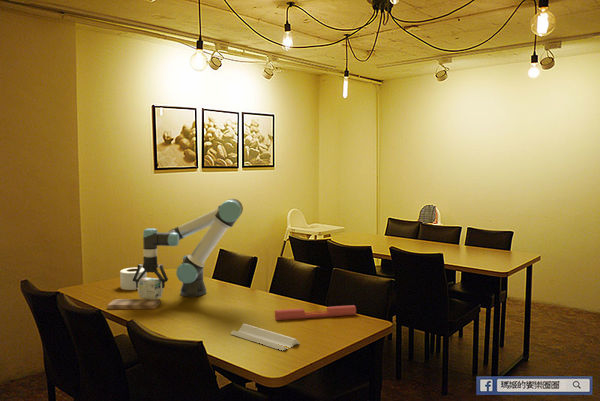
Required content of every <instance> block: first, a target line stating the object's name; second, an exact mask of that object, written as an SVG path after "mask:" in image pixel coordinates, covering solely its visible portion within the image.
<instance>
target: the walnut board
mask: <svg viewBox="0 0 600 401" xmlns="http://www.w3.org/2000/svg"><path fill="white" fill-rule="evenodd" d="M160 304H161V299H160V298H158V299H144V298H122V299H121V298H117V299H116V298H115V299H113V300H112V301H111V302H109V303H108V304H107V310H124V309H125V310H151V309H152V310H156V309H157V307H158V306H159V305H160Z"/></svg>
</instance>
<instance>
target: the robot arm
mask: <svg viewBox="0 0 600 401" xmlns="http://www.w3.org/2000/svg"><path fill="white" fill-rule="evenodd" d="M243 210H244V207H243V204H242V202H241V201H240V200H239V199H236V198H230V199H227V200H225V201H224V202H222V203H221V204H220V205H218V206H217V208H215V209H213V210H211V211H209V212H207V213H204V214H203V215H200V216H198V217H196V218H194V219H192V220H190V221H188V222H185V223H183V224H181V225H179V226H176V227H174V228H172V229H170V230H168V231H166V232H158V229H157V228H153V227H152V228H151V227H149V228H145V229H144V230H143V234H142V235H143V237H142V240H143V241H142V242H143V244H142V246H143V252H142V254H143V255H142V256H143V264H140V263H139V264H138V265H137V271H136V273H135V276H134V278H133V281H135V282H136V288H138V289H137V294H138V295H140V291H139V280H140V279H141V278H142V277H143V275H144V274H145V273H146V274H147V273H154V274H155V275H156V277H157V279H160V280H161V283H160V287H161V294H162V295H163V294H164V289H165V284H166V282H169V278H168V276H167V274H166V271H165V269H164V264H158V246H159V247H177V246H179V243H180V240H183V239H184V238H186V237H189V236H191V235H193V234H196V233H198V232H201V231H202V230H204V229H206V228H208V229H207V231H206V232H205V234H204V235H203V237H202V238H201V239H200V241H199V242H198V243H197V245H196V246H195V248H194V249H193V251H192V252H191V253H189V254H187V255H184V256H182V262H181V263H180V264H179V265H178V266H177V269H176V272H175V273H176V277H177V279H178V280H179V281H180V282H181V283H182V284H181V288H180V291H179V292H180V295H181V296H183V297H191V298H192V297H193V298H194V297H200V296H203V295H206V294H207V287H206V284H205V280H204V268H205V267H206V266H205V262H206V260H207V259H208V257H209V256H210V255H211V253H212V252H213V251H214V249H215V247H216V246H217V244H218V243H219V242H220V240H221V239H222V237H224V235H225V234H226V232H227V230H228V229H230V228H233V226H234V225H235V223H236V222H237V221H238V219H239V218H240V216H241V215H242V213H243ZM141 268H144V271H143V272H142V274H141V275H140V276H139V278H138V279H136V278H137V276H138V274H139V271H140V269H141ZM158 269H159V270H158ZM159 271H160V272H159ZM161 274H162V275H161Z"/></svg>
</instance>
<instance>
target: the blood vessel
mask: <svg viewBox="0 0 600 401" xmlns="http://www.w3.org/2000/svg"><path fill="white" fill-rule="evenodd" d="M356 314H357V307H356V305H354V304H353V305H336V306H327V307H326V310H317V311H305V309H304V308H291V309H290V308H289V309H275V310H274V319H275V321H287V320H299V319H300V320H301V319H316V318H330V317H343V316H345V317H346V316H356Z"/></svg>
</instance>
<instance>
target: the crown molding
mask: <svg viewBox="0 0 600 401" xmlns="http://www.w3.org/2000/svg"><path fill="white" fill-rule="evenodd" d="M230 335H231V336H235V337H238V338H241V339H244V340H247V341H251V342H253V343H256V344H257V343H258V344H259V343H260V345H262V344H263V346H267V347H269V348H272V349H275V350H278V349H279V351H281V350H282V352H284V351H287V350H286V349H288V348H286V347H284V346H287V347H289V348H290V349H292V348H293V347H294V346H295V345H300V344H301V343H300V342H299V341H298V339H297V338H293V337H291V336H287V335H284V334H281V333H278V332H275V331H270V330H269V329H268V330H267V329H263V328H261V327H257V326H253V325H250V324H247V323H242V325H241V326H240V328H239V329H238V331H236V330H234V329H233V330H232V331H231V333H230ZM278 344H279V345H278ZM281 345H282V346H281ZM291 347H292V348H291ZM283 350H284V351H283ZM288 350H289V349H288Z"/></svg>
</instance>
